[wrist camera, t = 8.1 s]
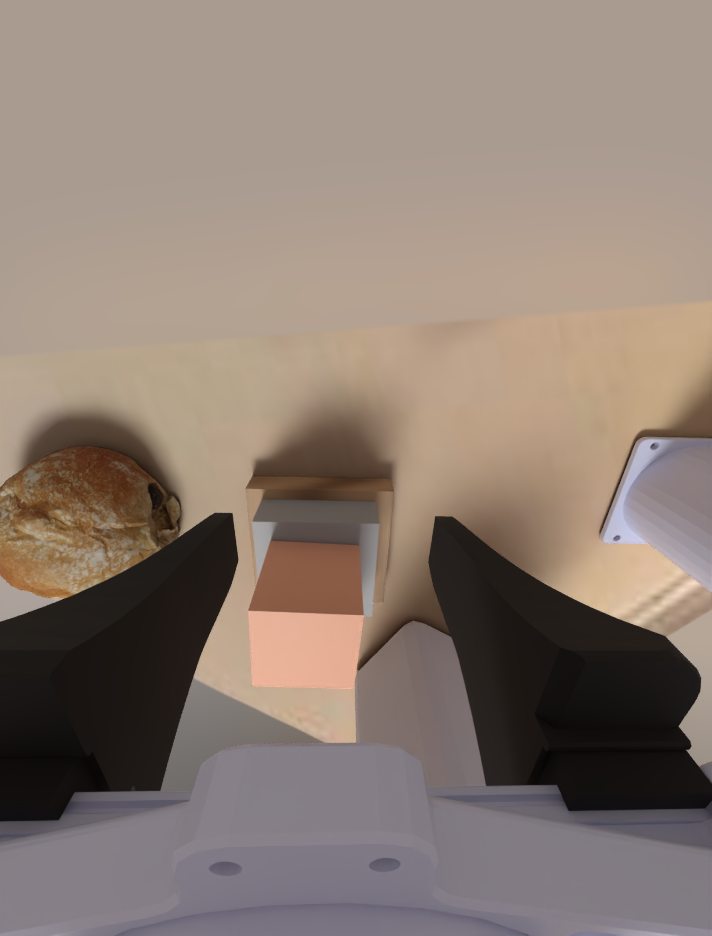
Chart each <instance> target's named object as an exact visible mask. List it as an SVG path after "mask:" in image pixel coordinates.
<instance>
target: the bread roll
mask: <svg viewBox="0 0 712 936" xmlns="http://www.w3.org/2000/svg"><path fill="white" fill-rule="evenodd" d="M180 515H181V509H180V505H179V502H178V501H177V500H176V499H175V498H174V497H173V496H170V495H169V494H168V493H167V492H166V491H165V490H164V489H163V488H162V487H161V485H160V484H159V483H158V482H157V481H156V480H155V479H154V478H152V477H151V476H150V475H149V474H147V473H146V472H145V471H144V470H142V469H141V468H140V467H139V466H138V465H137V464H136V463H135V461H134V460H133V459H131V458H129V457H128V456H126V455H124V454H122V453H119V452H116V451H114V450H110V449H105V448H99V447H93V446H82V447H68V448H66V449H63V450H59V451H56V452H53V453H51V454H49V455H47V456H45V457H43V458H41V459H39V460H38V461H36V462H34V463H32V464H30V465H29V466H27V467H25V468H24V469H22V470H20V471H19V472H18V473H16V474H15V475H13V476H12V477H10V478H9V479H8V480H6V481H5V483H4V484H3V485H2V486H1V487H0V575H1V576H2V577H3V578H4V579H5V580H6V581H7V582H8V583H9V584H10V585H11V586H13V587H15V588H17V589H19V590H25V591H29V592H32V593H34V594H36V595H38V596H41V597H45V598H51V597H61V598H67V597H70V596H72V595H74V594H77V593H79V592H81V591H83V590H85V589H88V588H90V587H92V586H94V585H96V584H99V583H101V582H103V581H105V580H107V579H109V578H111V577H113V576H115V575H117V574H119V573H121V572H123V571H125V570H127V569H129V568H130V567H132V566H134V565H136V564H138V563H139V562H141V561H143V560H144V559H146V558H148V557H149V556H151V555H152V554H154V553H156V552H157V551H159V550H160V549H162V548H163V547H165V546H167V545H168V544H170V543H171V542H173V541H174V540H176V539H177V538H178V524H177V522H176V521H177V519H178V518H179V517H180Z"/></svg>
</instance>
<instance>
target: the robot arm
mask: <svg viewBox="0 0 712 936" xmlns="http://www.w3.org/2000/svg"><path fill="white" fill-rule="evenodd" d="M653 443H654V444H653ZM652 444H653V446H652V447H651V445H652ZM600 539H601V540H602V541H603V542H605V543H624V544H649V545H650V546H652V547H653V548H654V549H656V550H657V551H658V552H659V553H661V554H662V555H663V556H665V557H666V558H667V559H668V560H670V561H671V562H672V563H674V564H675V565H676V566H678V567H679V568H680V569H681V570H683V571H684V572H685V573H687V574H688V575H689V576H691V577H692V578H693V579H694V580H696V581H697V582H698V583H700V584H701V585H702V586H704V587H705V588H706V589H707V590H709V591H710V592H711V593H712V438H680V437H642V438H640V439H639V440H638V441H637V442H636V443H635V446H634V448H633V451H632V454H631V456H630V459H629V461H628V464H627V467H626V469H625V472H624V474H623V477H622V480H621V482H620V485H619V487H618V490H617V493H616V495H615V498H614V500H613V503H612V506H611V508H610V511H609V514H608V516H607V519H606V521H605V524H604V527H603V529H602V532H601V534H600ZM237 563H238V553H237V545H236V537H235V529H234V522H233V514H232V513H214V514H212V515H210V516H209V517H207V518H206V519H204V520H203V521H202V522H200V523H199V524H197V525H196V526H194V527H193V528H192V529H190V530H189V531H187V532H186V533H184V534H183V535H181V536H180V537H179V538H177V539H176V540H174V541H173V542H171V543H170V544H168V545H167V546H165V547H163V548H162V549H160V550H159V551H157V552H156V553H154V554H152V555H151V556H149V557H148V558H146V559H144V560H143V561H141V562H139V563H138V564H136V565H134V566H132V567H130V568H129V569H127V570H125V571H123V572H121V573H119V574H117V575H115V576H113V577H111V578H109V579H107V580H105V581H103V582H101V583H99V584H96V585H94V586H92V587H90V588H88V589H85V590H83V591H81V592H79V593H77V594H74V595H72V596H70V597H67V598H65V599H62V600H60V601H57V602H55V603H52V604H50V605H47V606H45V607H42V608H39V609H36V610H34V611H31V612H28V613H26V614H22V615H19V616H17V617H14V618H11V619H7V620H4V621H1V622H0V936H712V762H708V763H706V764H704V765H701V766H700V767H699V766H698V765H697V764H696V762H695V761H694V760H693V759H692V757H691V756H690V755H689V753H688V752H687V751H686V750H689V749H690V748H691V742H690V740H689V739H688V738H687V736H686V735H685V734H684V733H683V732H682V730H681V729H680V728H679V725H680V723H681V721H682V720H683V719H684V717H685V716H686V714H687V713H688V711H689V710H690V708H691V707H692V705H693V704H694V703H695V701H696V699H697V697H698V694H699V693H700V688H701V677H700V674H699V672H698V670H697V669H696V667H695V666H694V665H692V663H690V661H689V660H688V659H687V658H686V657H685V656H684V655H683V654H682V653H681V652H680V651H679V650H678V649H677V648H676V647H675V646H674V645H673V644H672V643H671V642H670V641H669V640H668V639H667V638H666V637H665V636H663V635H661V634H658V633H655V632H652V631H650V630H647V629H644V628H641V627H639V626H636V625H633V624H630V623H628V622H625V621H622V620H620V619H617V618H615V617H612V616H610V615H608V614H605V613H603V612H601V611H598V610H596V609H594V608H591V607H589V606H587V605H585V604H583V603H581V602H578V601H576V600H574V599H572V598H570V597H568V596H566V595H565V594H563V593H561V592H559V591H557V590H555V589H553V588H551V587H549V586H548V585H546V584H544V583H542V582H541V581H539V580H537V579H536V578H534V577H532V576H531V575H529V574H527V573H526V572H524V571H523V570H521V569H520V568H518V567H517V566H515V565H514V564H512V563H511V562H509V561H508V560H507V559H505V558H504V557H502V556H501V555H500V554H498V553H497V552H496V551H494V550H493V549H492V548H490V547H489V546H488V545H487V544H485V543H484V542H483V541H482V540H480V539H479V538H478V537H477V536H476V535H474V534H473V533H472V532H471V531H470V530H468V529H467V528H466V527H465V526H464V525H462V524H461V523H460V522H459V521H457V520H456V519H455V518H453V517H446V516H435V522H434V529H433V535H432V542H431V549H430V555H429V567H430V573H431V577H432V582H433V586H434V590H435V593H436V595H437V598H438V601H439V604H440V607H441V610H442V612H443V615H444V618H445V621H446V624H447V626H448V629H449V632H450V635H451V637H452V640H453V643H454V646H455V649H456V653H457V656H458V659H459V663H460V667H461V671H462V676H463V680H464V684H465V688H466V692H467V696H468V701H469V705H470V710H471V714H472V718H473V723H474V728H475V733H476V738H477V742H478V747H479V752H480V757H481V762H482V767H483V773H484V778H485V783H486V786H458V787H427V786H426V780H425V775H424V771H423V768H422V764H421V761H420V760H418V759H417V758H416V757H415V756H413V755H412V754H410V753H408V752H407V751H405V750H404V749H402V748H400V747H399V746H393V745H387V744H380V743H294V744H293V743H284V744H246V745H240V746H235V747H229V748H225V749H223V750H221V751H220V752H218V753H217V754H216V755H214V756H213V757H211V758H209V759H208V760H206V761H205V762H204V763H202V764H201V767H200V770H199V773H198V776H197V779H196V782H195V786H194V789H193V791H160V790H161V786H162V782H163V778H164V775H165V771H166V767H167V763H168V760H169V756H170V753H171V749H172V746H173V742H174V739H175V735H176V732H177V728H178V724H179V721H180V718H181V714H182V711H183V708H184V705H185V702H186V698H187V695H188V692H189V688H190V686H191V682H192V680H193V676H194V673H195V670H196V667H197V664H198V661H199V658H200V656H201V653H202V651H203V648H204V646H205V643H206V641H207V639H208V637H209V634H210V632H211V630H212V628H213V625H214V623H215V621H216V619H217V616H218V614H219V612H220V610H221V608H222V605H223V603H224V601H225V598H226V596H227V594H228V592H229V589H230V587H231V584H232V581H233V578H234V574H235V571H236V567H237Z"/></svg>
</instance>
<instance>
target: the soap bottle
mask: <svg viewBox="0 0 712 936" xmlns="http://www.w3.org/2000/svg"><path fill="white" fill-rule="evenodd" d="M355 711H356V743H380V744H387V745H393V746H399V747H400V748H402V749H404V750H405V751H407V752H408V753H410V754H412V755H413V756H415V757H416V758H417V759H418V760H420V761H421V764H422V768H423V771H424V775H425V780H426V786H427V787H458V786H486V783H485V778H484V773H483V767H482V762H481V757H480V752H479V747H478V742H477V738H476V733H475V728H474V723H473V718H472V714H471V710H470V705H469V701H468V696H467V692H466V688H465V684H464V680H463V676H462V671H461V667H460V663H459V659H458V656H457V653H456V649H455V646H454V643H453V640H452V637H450V636H448V635H446V634H444V633H442V632H440V631H438V630H436V629H434V628H432V627H430V626H428V625H426V624H424V623H422V622H417V621H411V622H409V623H407V624H405V625H404V626H403V627H402V628H401V629H400V630H399V631H398V632H397V633H396V634H395V635H394V636H393V637H392V638H391V639H390V640H389V641H388V642H387V643H386V644H385V645H384V646H383V647H382V648H381V649H380V650H379V651H378V652H377V653H376V654H375V655H374V656H373V657H372V658H371V659H370V660H369V661H368V662H367V663H366V664H365V665H364V666H363V667H362V668H361V669H360V670H359V671H358V672H357V674H356V678H355Z"/></svg>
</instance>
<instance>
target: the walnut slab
mask: <svg viewBox="0 0 712 936" xmlns="http://www.w3.org/2000/svg"><path fill="white" fill-rule="evenodd" d="M393 494H394V491H393V487H392V484H391V480H390V479H377V478H329V477H280V476H252V478H251V480H250V482H249V484H248V485H247V487H246V498H247V508H248V517H249V527H250V537H251V547H252V557H253V566H254V576H255V586H256V585H257V582H258V578H257V568H256V558H255V547H254V537H253V526H252V521H253V518H254V516H255V514H256V511H257V509H258V507H259V505H260V502H261V500H262V499H278V500H328V501H376V506H377V512H378V518H379V535H378V547H377V560H376V572H375V585H374V597H373V602H384V591H385V580H386V569H387V559H388V548H389V537H390V526H391V515H392V504H393Z"/></svg>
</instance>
